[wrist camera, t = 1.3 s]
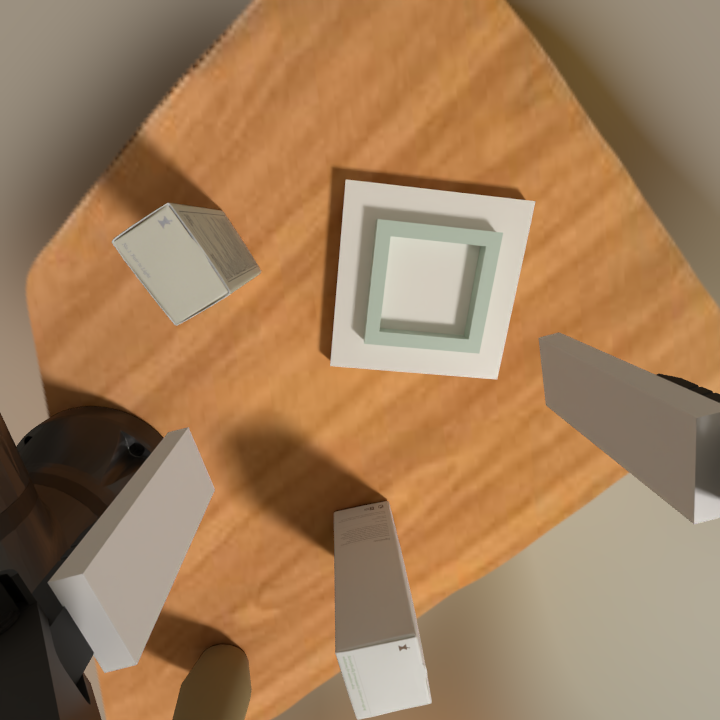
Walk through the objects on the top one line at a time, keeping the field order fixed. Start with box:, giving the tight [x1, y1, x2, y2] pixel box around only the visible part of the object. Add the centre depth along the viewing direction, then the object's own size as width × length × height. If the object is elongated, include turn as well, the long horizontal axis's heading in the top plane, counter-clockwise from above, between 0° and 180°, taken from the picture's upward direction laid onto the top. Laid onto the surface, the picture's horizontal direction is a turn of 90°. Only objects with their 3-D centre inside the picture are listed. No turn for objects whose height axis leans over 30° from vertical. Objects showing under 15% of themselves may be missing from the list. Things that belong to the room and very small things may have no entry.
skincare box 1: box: [112, 203, 261, 325], centre depth 30 cm, size 6×4×12 cm
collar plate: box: [330, 180, 535, 379], centre depth 36 cm, size 16×16×3 cm
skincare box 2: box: [334, 501, 431, 719], centre depth 38 cm, size 8×7×16 cm
